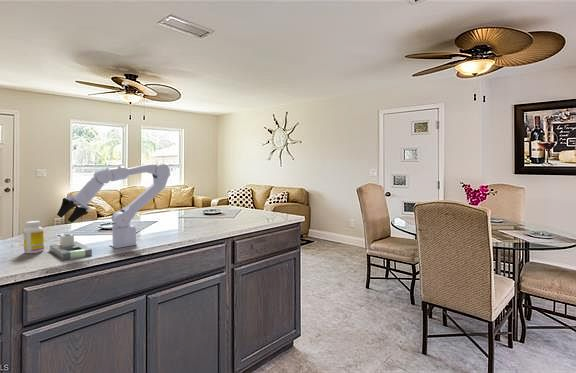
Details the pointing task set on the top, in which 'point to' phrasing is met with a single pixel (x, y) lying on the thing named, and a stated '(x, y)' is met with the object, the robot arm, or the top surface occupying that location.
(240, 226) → the top surface
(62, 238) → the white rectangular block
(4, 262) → the top surface
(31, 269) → the top surface
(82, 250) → the panel
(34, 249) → the supplement bottle
